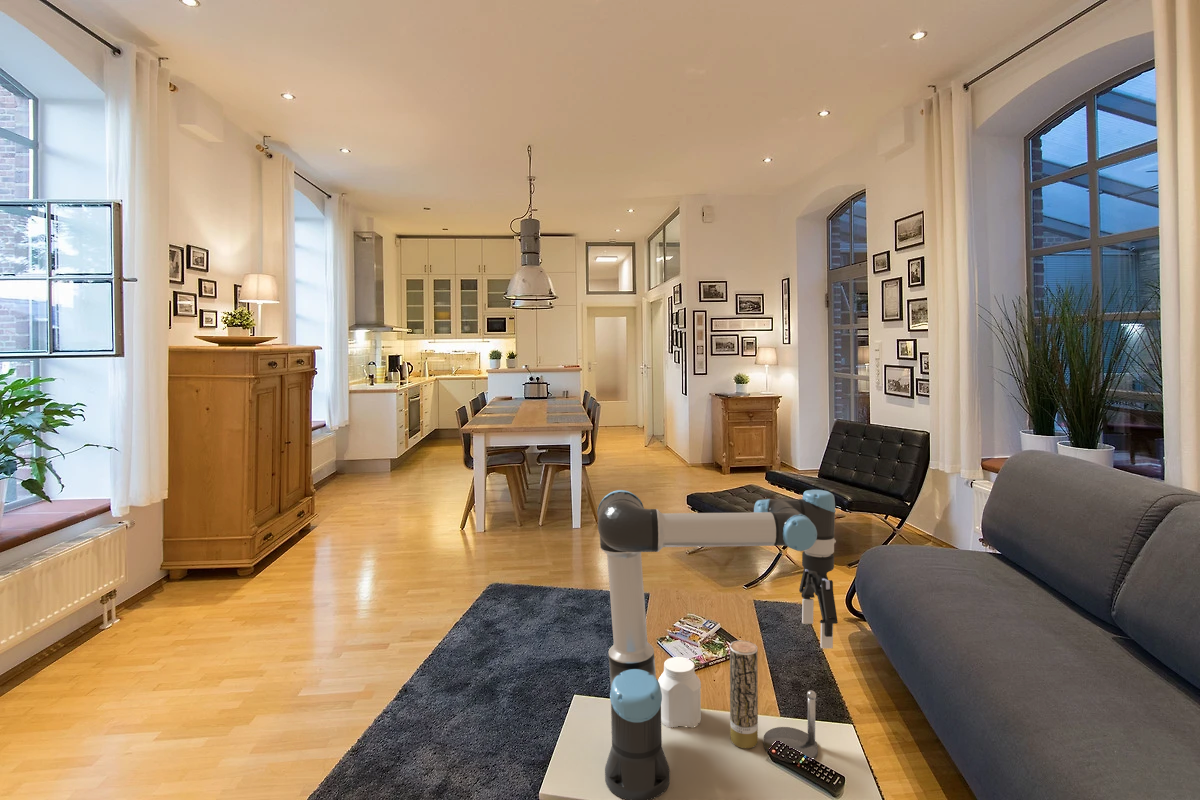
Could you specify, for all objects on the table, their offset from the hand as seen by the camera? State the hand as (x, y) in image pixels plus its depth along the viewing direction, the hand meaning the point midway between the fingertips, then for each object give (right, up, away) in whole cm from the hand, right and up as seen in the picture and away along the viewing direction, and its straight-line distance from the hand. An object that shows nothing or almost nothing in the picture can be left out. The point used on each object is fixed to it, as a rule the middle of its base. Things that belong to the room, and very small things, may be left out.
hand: (816, 635), depth 154 cm
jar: (-33, -28, +13) cm, 45 cm away
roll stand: (-7, -28, -1) cm, 29 cm away
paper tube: (-18, -28, +2) cm, 33 cm away
